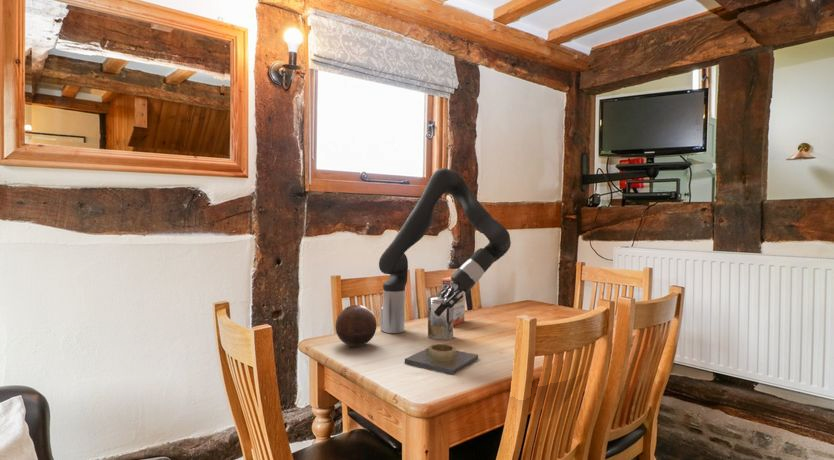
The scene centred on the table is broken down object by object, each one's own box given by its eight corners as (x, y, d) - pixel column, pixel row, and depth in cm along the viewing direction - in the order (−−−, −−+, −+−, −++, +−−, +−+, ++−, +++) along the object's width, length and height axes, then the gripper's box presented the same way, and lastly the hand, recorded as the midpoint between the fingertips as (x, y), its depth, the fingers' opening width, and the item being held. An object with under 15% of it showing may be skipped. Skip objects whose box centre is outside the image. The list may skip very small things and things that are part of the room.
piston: (427, 325, 147) (427, 298, 146) (435, 322, 151) (435, 296, 151) (441, 327, 144) (441, 299, 144) (449, 324, 148) (449, 297, 148)
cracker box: (451, 327, 193) (452, 279, 192) (439, 325, 196) (439, 278, 195) (465, 321, 205) (466, 276, 204) (453, 319, 208) (454, 275, 207)
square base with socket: (404, 363, 145) (404, 349, 145) (432, 349, 161) (433, 337, 160) (453, 374, 136) (453, 360, 136) (478, 359, 151) (478, 346, 151)
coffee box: (454, 336, 178) (454, 297, 178) (449, 340, 173) (449, 299, 172) (432, 334, 182) (433, 295, 181) (426, 338, 176) (427, 297, 175)
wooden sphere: (383, 348, 162) (383, 307, 162) (344, 354, 154) (344, 311, 154) (366, 338, 175) (366, 300, 174) (329, 343, 167) (329, 303, 167)
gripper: (453, 265, 156) (420, 301, 153) (468, 270, 142) (431, 309, 139) (467, 280, 157) (434, 315, 154) (483, 286, 143) (447, 325, 141)
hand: (433, 312), depth 147 cm, fingers closed on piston, 5 cm apart
